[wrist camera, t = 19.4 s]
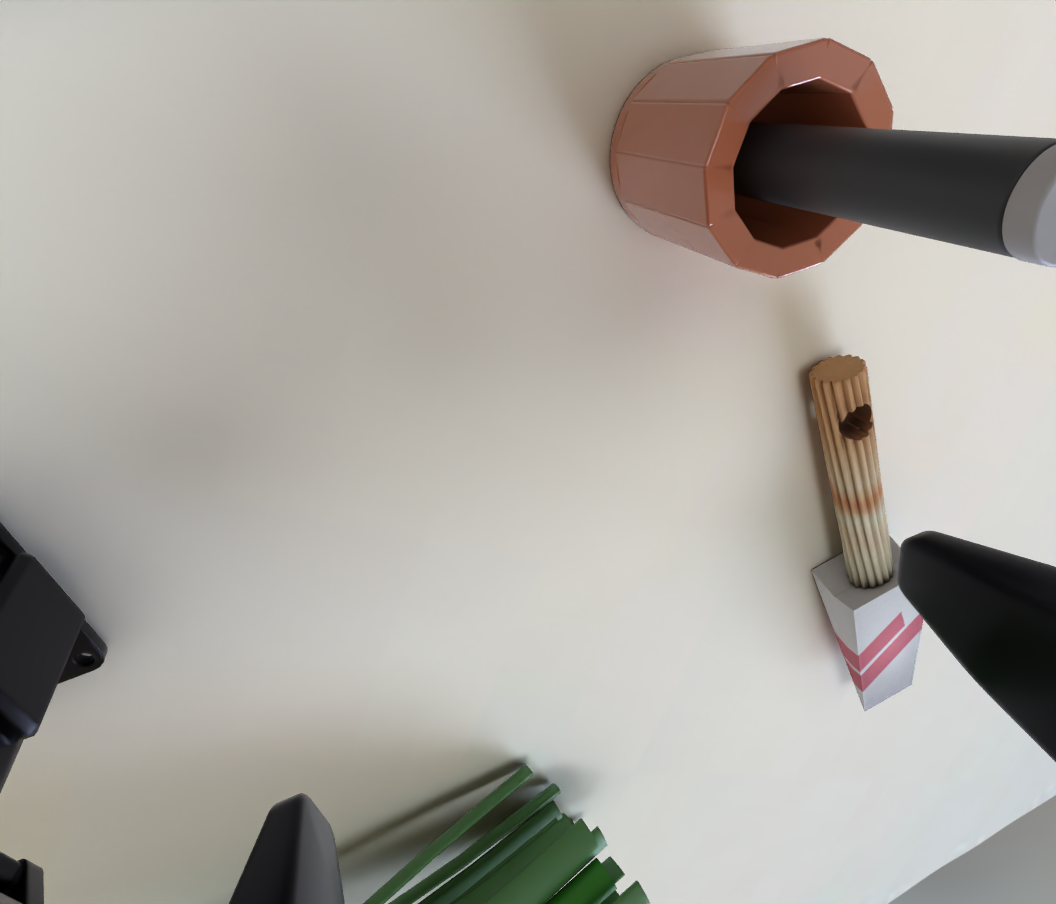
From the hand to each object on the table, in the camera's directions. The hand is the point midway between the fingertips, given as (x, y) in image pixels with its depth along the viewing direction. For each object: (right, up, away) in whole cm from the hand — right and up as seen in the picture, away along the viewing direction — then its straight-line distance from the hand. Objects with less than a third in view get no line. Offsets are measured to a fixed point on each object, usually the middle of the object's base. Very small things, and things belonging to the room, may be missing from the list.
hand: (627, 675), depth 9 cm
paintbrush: (+13, -1, +20) cm, 23 cm away
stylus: (+3, +11, +9) cm, 15 cm away
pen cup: (+3, +12, +9) cm, 15 cm away
